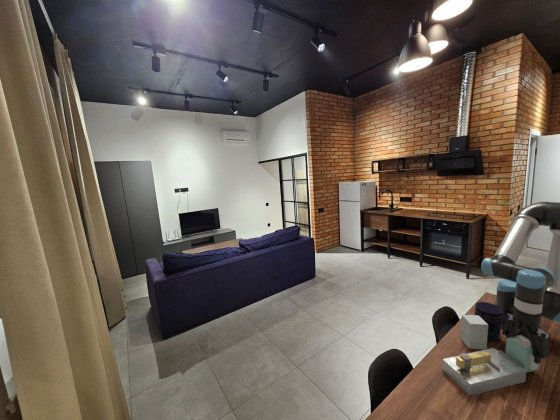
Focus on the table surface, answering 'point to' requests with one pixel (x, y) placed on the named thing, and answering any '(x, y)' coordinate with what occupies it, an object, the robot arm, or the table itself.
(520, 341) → the mint green box
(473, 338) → the supplement box
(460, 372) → the white base platform
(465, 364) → the hammer with yellow handle
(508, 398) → the table surface
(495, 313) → the storage jar
